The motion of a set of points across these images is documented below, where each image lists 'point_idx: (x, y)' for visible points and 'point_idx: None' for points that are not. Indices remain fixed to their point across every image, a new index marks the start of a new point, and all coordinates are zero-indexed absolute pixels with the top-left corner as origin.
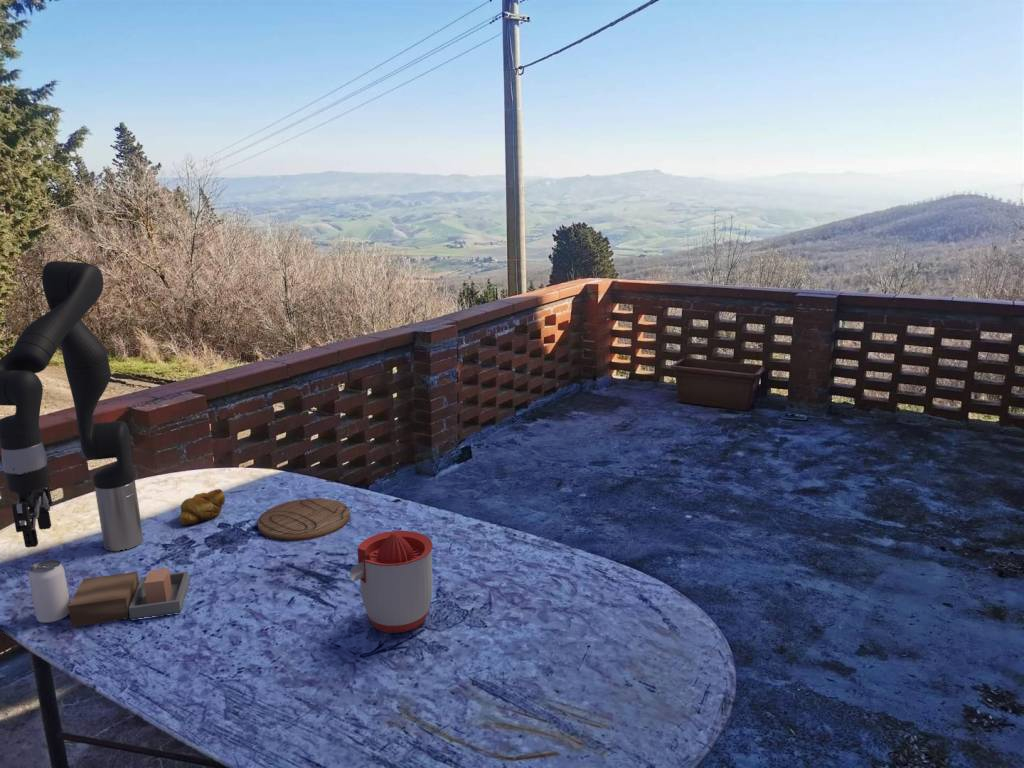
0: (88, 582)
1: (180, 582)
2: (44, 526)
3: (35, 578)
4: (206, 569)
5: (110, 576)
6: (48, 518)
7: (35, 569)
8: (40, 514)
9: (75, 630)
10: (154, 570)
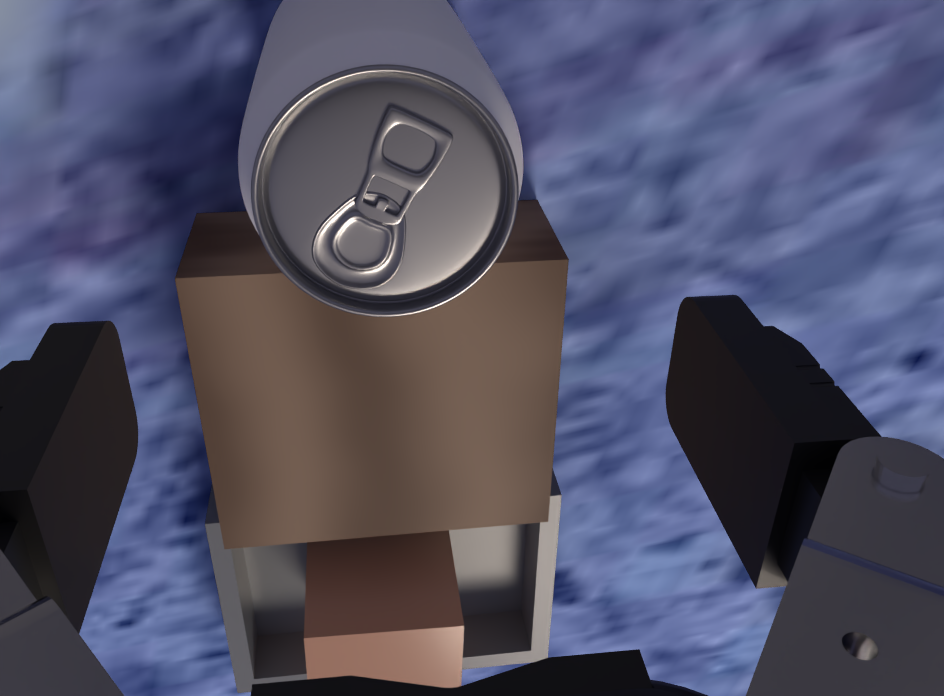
0: (497, 304)
1: (522, 598)
2: (687, 372)
3: (245, 130)
4: (641, 640)
5: (538, 406)
6: (717, 509)
7: (356, 115)
8: (775, 482)
9: (157, 243)
10: (451, 645)
